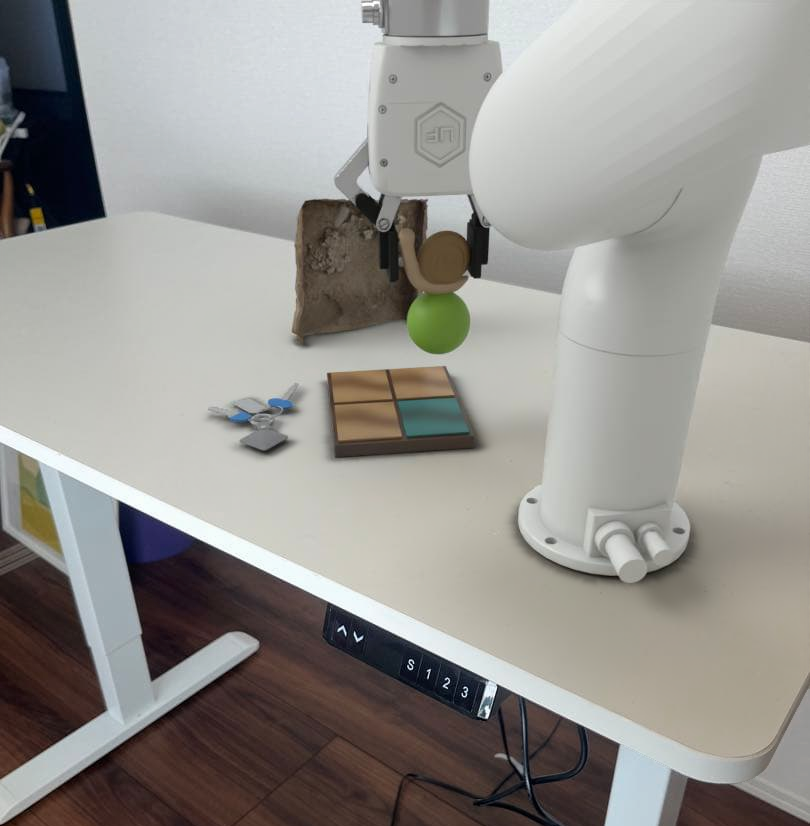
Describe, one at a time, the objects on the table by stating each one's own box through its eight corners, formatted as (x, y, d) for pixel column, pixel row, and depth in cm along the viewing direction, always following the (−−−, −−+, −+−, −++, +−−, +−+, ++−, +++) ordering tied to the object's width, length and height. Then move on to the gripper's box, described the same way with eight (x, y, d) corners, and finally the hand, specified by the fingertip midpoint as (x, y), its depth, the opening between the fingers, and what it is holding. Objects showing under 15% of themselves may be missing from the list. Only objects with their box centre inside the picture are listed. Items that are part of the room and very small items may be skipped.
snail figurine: (388, 342, 73) (387, 203, 65) (455, 333, 74) (463, 197, 67) (406, 370, 69) (408, 226, 61) (477, 360, 70) (487, 218, 63)
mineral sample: (298, 347, 93) (286, 206, 85) (287, 335, 96) (274, 198, 88) (431, 324, 99) (431, 190, 90) (416, 314, 102) (416, 183, 93)
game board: (474, 448, 73) (474, 433, 72) (335, 457, 72) (334, 443, 71) (445, 376, 86) (445, 363, 85) (327, 383, 85) (326, 370, 84)
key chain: (285, 453, 72) (284, 445, 72) (192, 455, 72) (190, 447, 71) (300, 388, 83) (299, 380, 83) (219, 389, 83) (218, 381, 83)
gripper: (313, 23, 54) (330, 295, 64) (569, 19, 55) (546, 284, 66) (311, 18, 60) (326, 267, 70) (541, 15, 61) (524, 258, 72)
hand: (433, 273), depth 68 cm, fingers closed on snail figurine, 6 cm apart
